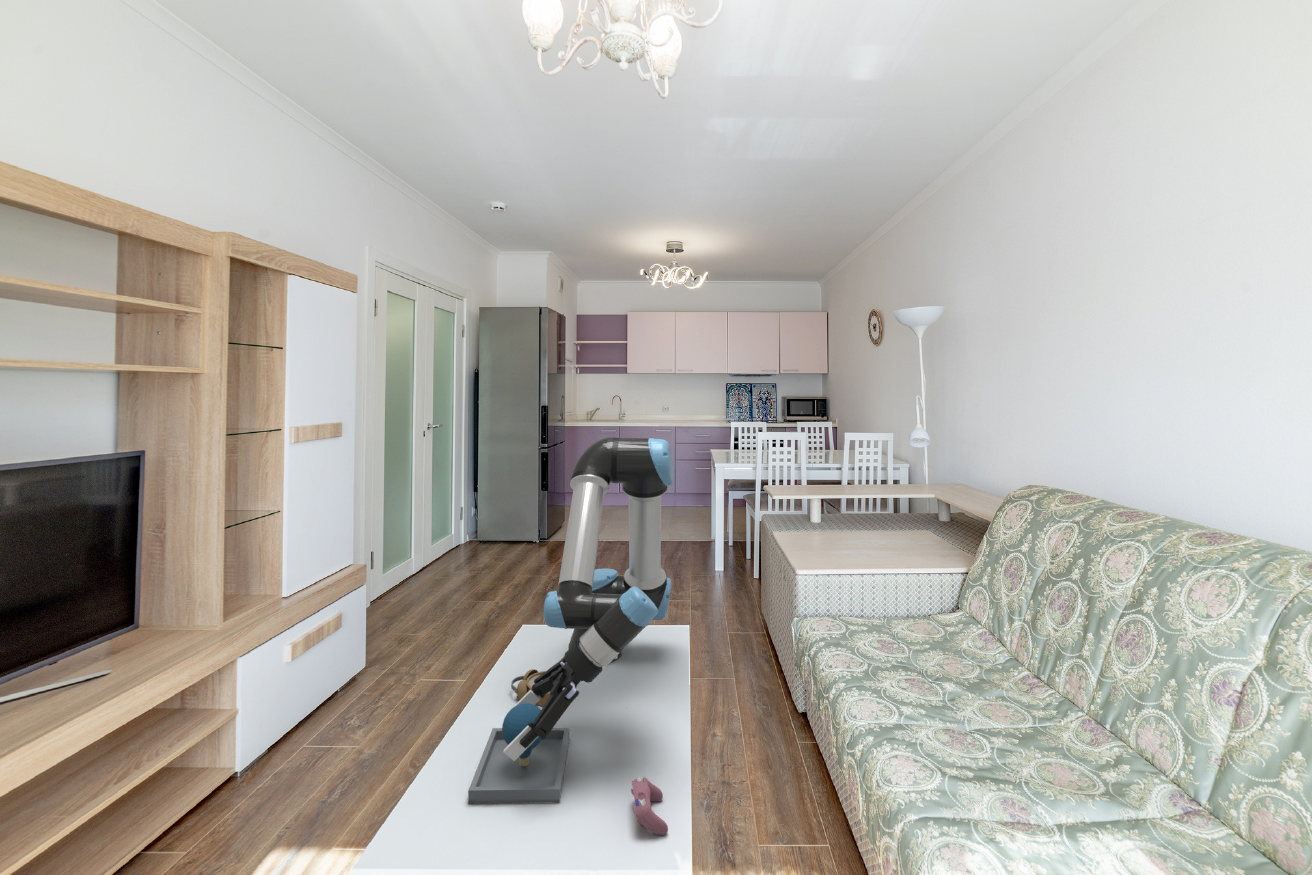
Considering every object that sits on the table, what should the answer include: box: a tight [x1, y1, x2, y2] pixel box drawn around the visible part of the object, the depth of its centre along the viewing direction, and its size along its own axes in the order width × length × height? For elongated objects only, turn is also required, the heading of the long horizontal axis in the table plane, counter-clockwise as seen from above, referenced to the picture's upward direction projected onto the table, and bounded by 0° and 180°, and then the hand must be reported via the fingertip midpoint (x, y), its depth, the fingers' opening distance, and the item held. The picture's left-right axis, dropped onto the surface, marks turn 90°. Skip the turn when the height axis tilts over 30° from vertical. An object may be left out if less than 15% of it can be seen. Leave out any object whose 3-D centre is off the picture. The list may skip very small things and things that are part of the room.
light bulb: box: [501, 703, 542, 767], centre depth 116 cm, size 8×8×12 cm
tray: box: [467, 727, 571, 805], centre depth 116 cm, size 20×16×2 cm
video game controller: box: [630, 775, 669, 836], centre depth 103 cm, size 10×5×7 cm, turn 5°
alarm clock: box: [510, 668, 550, 707], centre depth 145 cm, size 11×5×15 cm
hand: (510, 735), depth 115 cm, fingers open, 12 cm apart
